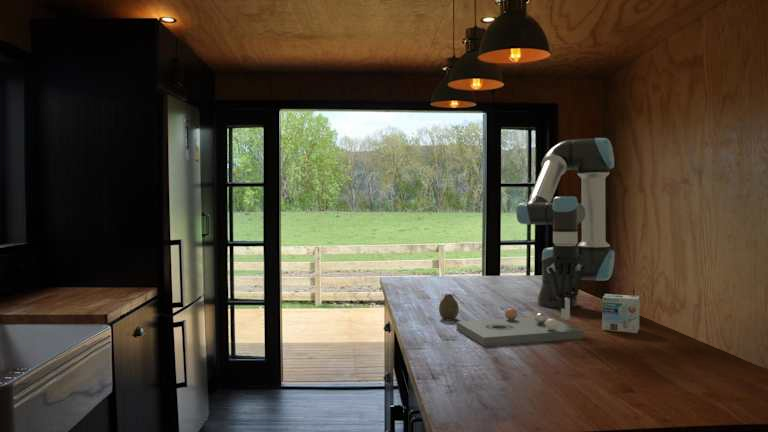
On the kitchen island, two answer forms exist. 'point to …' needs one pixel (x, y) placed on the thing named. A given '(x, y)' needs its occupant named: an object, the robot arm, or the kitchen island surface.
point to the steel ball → (540, 318)
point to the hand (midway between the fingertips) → (565, 318)
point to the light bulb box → (620, 313)
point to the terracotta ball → (511, 313)
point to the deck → (516, 331)
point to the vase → (448, 307)
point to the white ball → (551, 324)
